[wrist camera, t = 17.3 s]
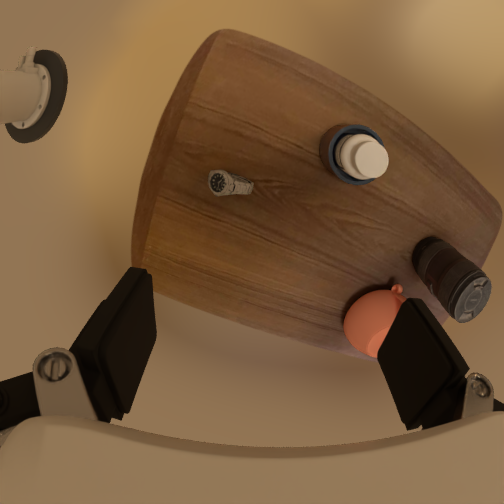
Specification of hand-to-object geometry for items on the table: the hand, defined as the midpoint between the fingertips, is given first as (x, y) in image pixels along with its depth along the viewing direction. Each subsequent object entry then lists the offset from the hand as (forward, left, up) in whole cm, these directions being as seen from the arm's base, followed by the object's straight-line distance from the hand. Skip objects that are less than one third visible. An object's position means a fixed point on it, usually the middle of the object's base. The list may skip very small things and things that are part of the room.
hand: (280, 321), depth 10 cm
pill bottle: (-5, +10, -30) cm, 32 cm away
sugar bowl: (+20, +24, -31) cm, 44 cm away
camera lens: (+8, +31, -31) cm, 44 cm away
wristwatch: (+2, -4, -31) cm, 31 cm away
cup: (-5, +11, -31) cm, 33 cm away
